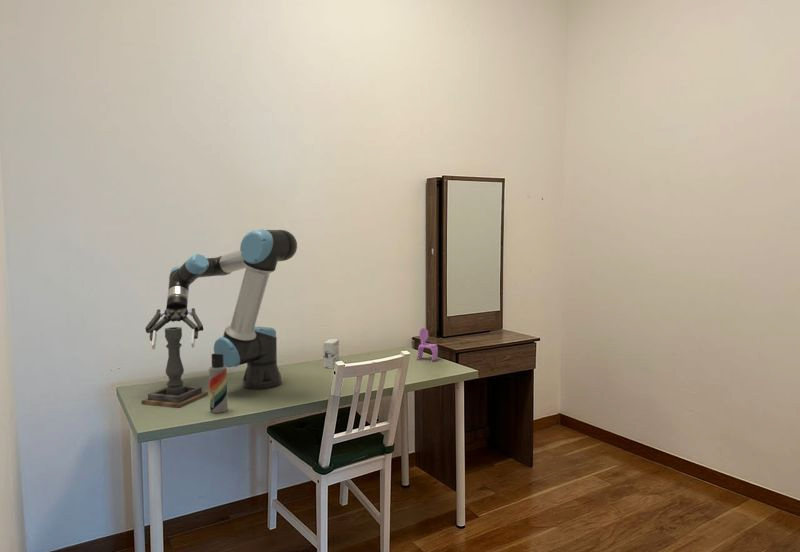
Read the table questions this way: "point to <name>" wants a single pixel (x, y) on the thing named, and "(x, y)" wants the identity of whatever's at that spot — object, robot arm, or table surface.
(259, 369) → the robot arm
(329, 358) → the ink box
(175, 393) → the candle holder
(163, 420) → the table surface
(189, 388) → the socket plate
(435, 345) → the toy chair
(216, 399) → the lotion bottle
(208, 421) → the table surface
